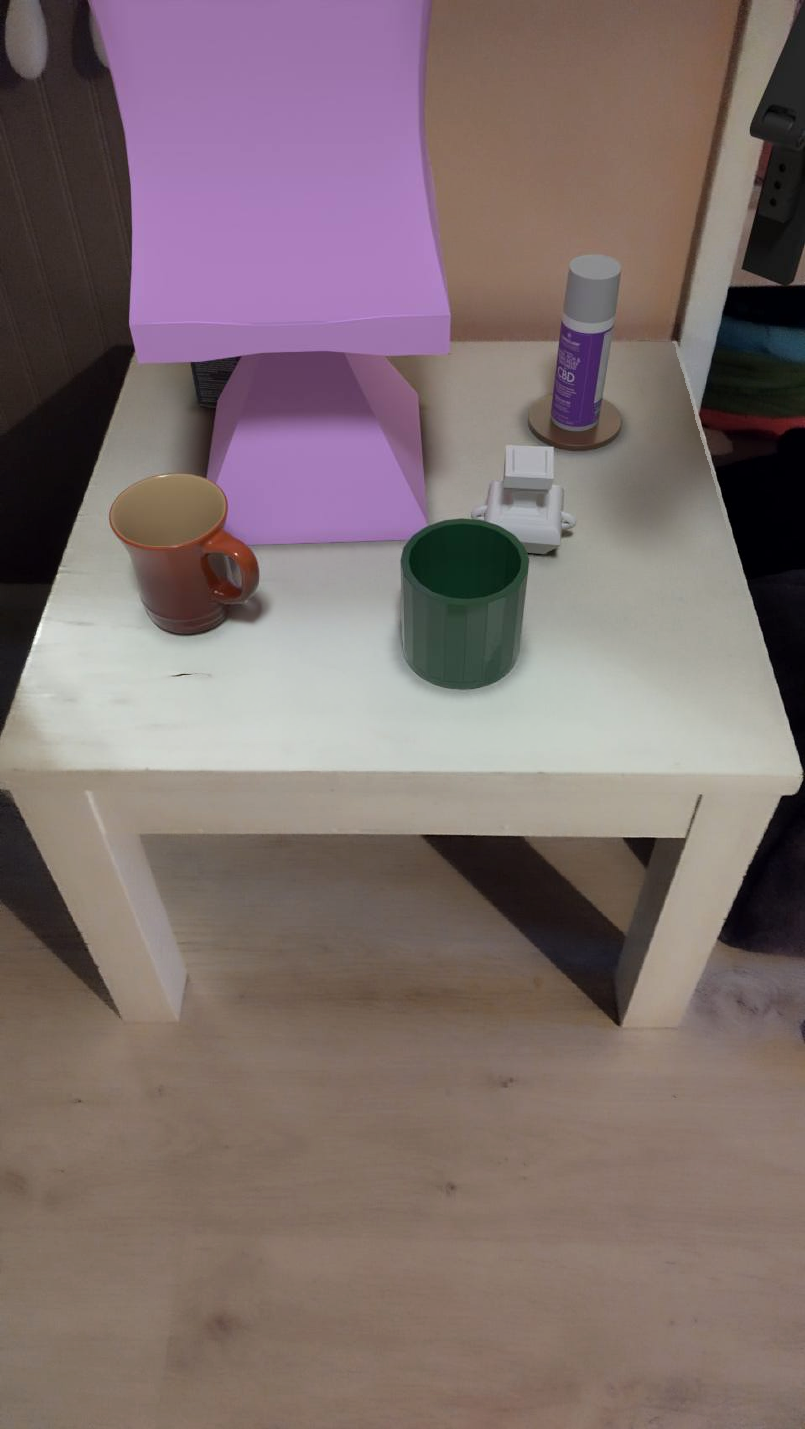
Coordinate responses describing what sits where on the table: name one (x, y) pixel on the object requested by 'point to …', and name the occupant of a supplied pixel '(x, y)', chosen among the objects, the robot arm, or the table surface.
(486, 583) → the cup
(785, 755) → the table surface
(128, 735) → the table surface
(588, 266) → the container
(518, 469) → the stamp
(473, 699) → the table surface
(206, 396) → the box
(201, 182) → the chair
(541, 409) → the coaster
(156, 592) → the mug
